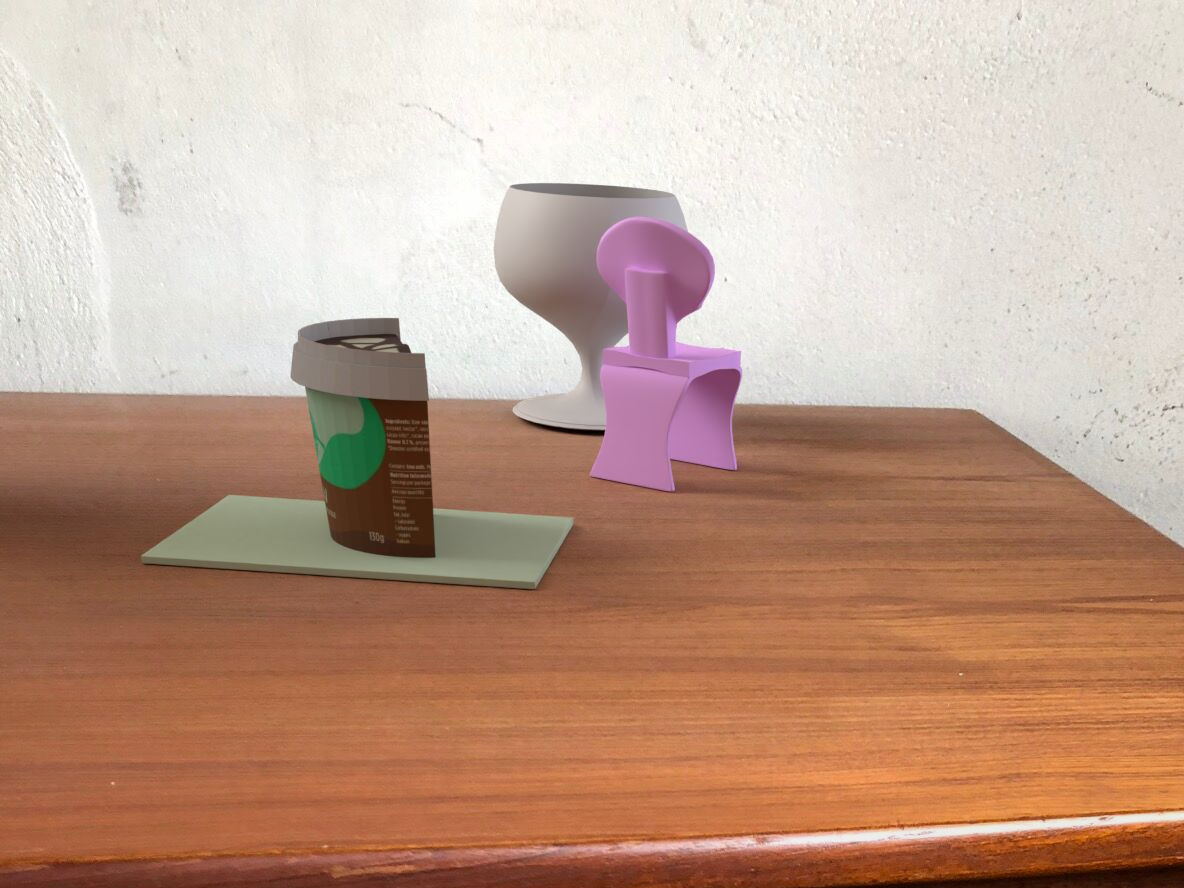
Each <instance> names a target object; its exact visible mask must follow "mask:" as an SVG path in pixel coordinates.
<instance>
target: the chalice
mask: <svg viewBox="0 0 1184 888" xmlns="http://www.w3.org/2000/svg"><path fill="white" fill-rule="evenodd" d="M631 217H649V218H657V219H661V220H665V221H667V222H670V223H672V224H674V225H676V226H678V227H680V228H682V229H684V230H686V231H687V232H689V230H688V226H687V222H686V218H685V215H684V212H683V209H682V207H681V205H680V202H679V200H678V198H677V196H676V194H674V193H672V192H667V191H664V190H656V189H649V188H641V187H640V188H639V187H633V186H632V187H631V186H620V185H607V184H606V185H605V184H591V183H589V184H588V183H567V182H566V183H564V182H529V183H528V182H527V183H515V184H511V185H509V186H508V188H507V190H506V192H505V194H504V196H503V200H502V202H501V203H500V208H499V211H498V215H497V219H496V225H495V226H496V227H495V231H494V243H493V256H494V258H493V259H494V268H495V271H496V273H497V276H498V279H499V282H500V283H501V284H502V286H503V288H505V291H506V292H507V293H508V294H510V296H512V297H513V298H514V299H515V300H516V301H517V302H518V303H519V304H521V305H522V306H524V307H525V308H526V309H528V310H529V311H531V312H532V313H534V314H536V315H537V316H539V317H540V318H542V319H543V320H545V321H546V322H548V323H549V324H550V325H552V326H553V327H554V328H556V329H557V330H558V331H559V332H561V333H562V334H563V335H564V336H565V337H566V338H567V339H568V340H569V342H570V343H571V344H572V345H573V347H574V349H575V350H576V352H577V354H578V356H579V360H580V364H581V373H580V380H579V381H578V383H577V384H576V385H575V387H574V389H572V390H571V391H569V392H567V393H566V392H565V393H555V394H553V393H552V394H545V395H541V396H535V397H530V398H527V399H523V400H521V401H519V402H517V404H515V406H513V407H512V413H513V414H514V415H515V416H517V417H518V418H521V419H523V420H526V421H529V422H532V423H536V424H539V425H544V426H549V427H555V428H560V429H567V430H568V429H569V430H580V431H597V432H598V431H601V432H605V430H606V408H605V401H604V396H603V391H602V386H601V379H600V371H601V368H602V366H603V349H606V348H611V347H616V346H617V344H618V343H619V342H621V340H622V339H624V338H625V336H627V335H629V333H628V316H627V304H626V303H625V302H624V301H623V300H622V299H621V298H620V297H619V295H618V294H617V293H616V292H615V291H614V290H613V289H611V288H610V287H609V286H608V284H607V283H606V282H605V281H604V279H603V278H602V276H601V275H600V273H599V270H598V267H597V259H596V258H597V249H598V246H599V243H600V240H601V238H602V236H603V235H604V234H605V232H606V231H607V230H608V229H609V228H611V227H612V226H613V225H615V224H616V223H618V222H620V221H622V220H624V219H627V218H631Z"/></svg>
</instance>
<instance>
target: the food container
mask: <svg viewBox="0 0 1184 888" xmlns="http://www.w3.org/2000/svg"><path fill="white" fill-rule="evenodd" d="M400 327H401V326H400V317H365V318H364V317H362V318H349V319H348V318H347V319H346V318H345V319H336V320H328V321H322V322H317V323H311V324H308V325H306V326H303V327H300V328H299V329H298V330H297V341H296V342H295V343H294V344H293V346H292V355H291V367H290V375H289V376H290V379H291V380H292V381H293V382H294V383H296V384H297V385H300V386H303V387H304V389H305V394H306V400H307V406H308V407H307V408H308V412H309V413H308V414H309V419H310V424H311V429H312V435H313V441H314V448H315V452H316V457H317V458H316V459H317V464H318V465H317V466H318V470H319V476H320V482H321V487H322V493H323V499H324V500H323V501H325V506H326V511H327V517H328V523H329V529H330V535H331V537H332V539H333V540H334V541H335V542H336V543H338V544H340V545H342V546H344V547H346V548H349V549H352V550H356V551H360V552H365V553H370V554H376V555H384V556H394V557H414V558H430V557H436V553H435V534H434V515H433V508H434V499H433V479H432V461H431V460H432V459H431V443H430V424H429V422H430V421H429V405H428V403H429V402H428V401H430V395H429V385H428V373H427V372H428V371H427V368H426V367H427V366H426V354H425V353H424V352H412V351H411V348H410V346H409V344H407V343H403V342H402V339H401V328H400Z"/></svg>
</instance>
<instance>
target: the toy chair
mask: <svg viewBox="0 0 1184 888" xmlns="http://www.w3.org/2000/svg"><path fill="white" fill-rule="evenodd" d="M596 259H597V267H598V270H599V273H600V275H601V276H602V278H603V279H604V281H605V282H606V283H607V284H608V286H609V287H610V288H611V289H613V290H614V291H615V292H616V293H617V294H618V295H619V297H620V298H621V299H622V300H623V301H624V302H625V303H626V304H627V316H628V345H626V346H615V347H611V348H606V349H603V366H602V368H601V371H600V379H601V386H602V391H603V396H604V401H605V408H606V430H605V431H604V436H603V440H602V443H601V446H600V449H599V450H598V451H599V452H598V454H597V457H596V459H595V460H594V463H593V465H592V468H591V470H590V472H589V476H590V477H593V478H597V479H602V480H608V481H613V482H618V483H623V484H628V485H633V486H639V487H644V488H649V489H654V490H659V491H665V492H674V491H675V490H676V489H675V482H674V477H673V470H672V465H671V460H673V461H679V462H684V463H689V464H695V465H701V466H705V467H712V468H717V469H721V470H722V469H723V470H727V471H736V470H738V463H737V458H736V453H735V446H734V437H733V414H734V407H735V403H736V399H737V395H738V393H739V390H740V386H741V383H742V379H743V369H742V366H741V361H742V359H741V358H742V352H741V350H736V349H728V348H721V347H720V348H717V347H704V346H698V345H692V344H688V343H684V342H679V341H677V340H676V339H677V330H678V329H677V328H678V323H680V322H681V321H682V320H683V319H684V318H686V317H688V316H689V315H691V314H693V313H694V312H697V311H699V310H701V309H702V307H703V304H704V302H705V300H706V299H707V297H708V295H709V293H710V291H711V289H712V288H713V287H712V286H713V283H714V281H715V276H716V264H715V260H714V257H713V255H712V253H711V251H710V250H709V248H708V247H707V246H706V245H705V244H704V243H703V242H702V241H701V240H700V239H699V238H698V237H696V236H695V235H694V234H692V233H690V232H689V231H688V232H687V231H686V230H684V229H682V228H680V227H678V226H676V225H674V224H672V223H670V222H667V221H665V220H661V219H657V218H649V217H631V218H627V219H624V220H622V221H620V222H618V223H616V224H615V225H613V226H612V227H611V228H609V229H608V230H607V231H606V232H605V234H604V235H603V236H602V238H601V240H600V243H599V246H598V249H597V258H596Z"/></svg>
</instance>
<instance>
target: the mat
mask: <svg viewBox="0 0 1184 888" xmlns="http://www.w3.org/2000/svg"><path fill="white" fill-rule="evenodd" d="M433 515H434V534H435V553H436V557H430V558H414V557H394V556H384V555H376V554H370V553H365V552H360V551H356V550H352V549H349V548H346V547H344V546H342V545H340V544H338V543H336V542H335V541H334V540H333V539H332V537H331V535H330V529H329V523H328V517H327V511H326V506H325V500H314V499H313V500H312V499H299V498H298V499H297V498H296V499H295V498H284V497H267V496H253V495H239V494H228V495H226V496H225V497H224V498H222V499H221V500H218V501H217V503H215V504H213V505H212V506H210V507H209V508H208V509H207V510H204V512H202V513H200V514H199V515H198V516H196V517H195V518H194V519H192V520H191V521H189V522H187V523H186V524H185V525H183V526H182V527H180V528H179V529H177V530H176V531H175V532H173V533H171V534H170V535H169V536H167V537H166V538H164V539H163V540H161V541H160V542H159V543H158V544H156V545H154V546H153V547H152V548H150V549H148V550H147V551H146V552H144V553H143V554H141V555H140V559H141V563H142V564H145V565H147V564H148V565H162V566H177V567H191V568H207V569H220V570H221V569H222V570H236V571H250V572H251V571H253V572H265V573H266V572H268V573H280V574H283V573H284V574H297V575H298V574H299V575H314V576H325V577H328V576H329V577H341V578H357V579H358V578H359V579H370V580H371V579H373V580H386V581H387V580H388V581H401V582H402V581H403V582H418V583H431V584H432V583H433V584H449V585H463V586H478V587H490V588H491V587H493V588H508V589H523V590H536V588H537V587H538V585H539V583H540V582H541V580H542V578H543V577H544V575H545V573H546V572H547V570H548V568H549V567H550V564H551V563H552V562H553V560H554V558H555V556H556V555H557V553H558V551H559V550H560V548H561V546H562V544H563V543H564V541H565V539H566V537H567V536H568V534H569V532H570V531H571V530H572V528H573V526H574V517H571V516H570V517H568V516H555V515H543V514H542V515H540V514H524V513H509V512H495V511H479V510H466V509H465V510H464V509H449V508H435V507H433Z"/></svg>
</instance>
